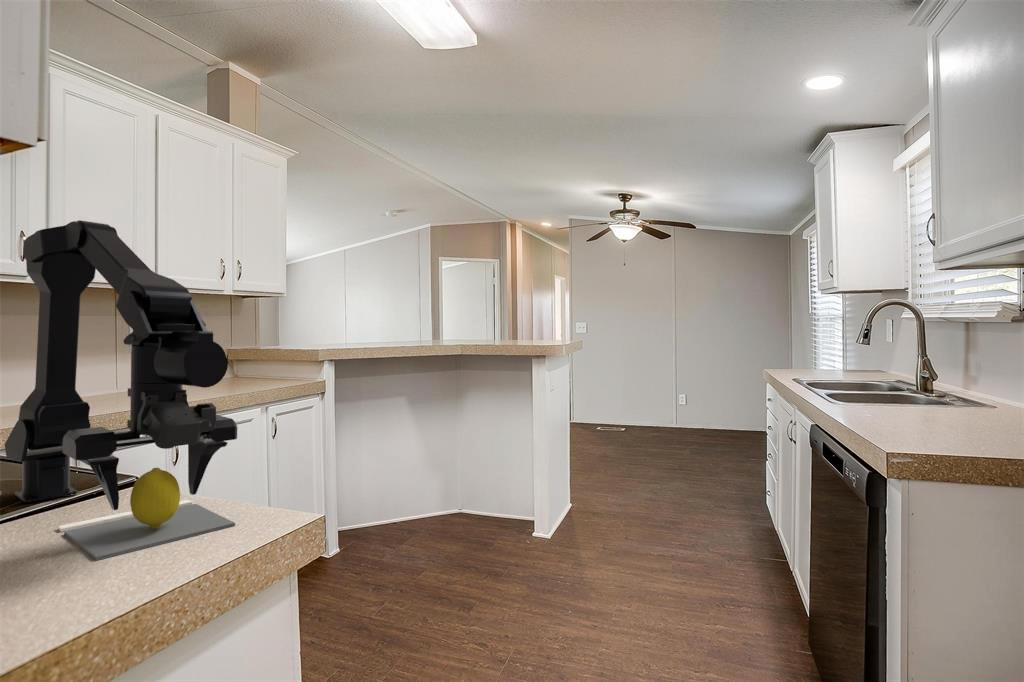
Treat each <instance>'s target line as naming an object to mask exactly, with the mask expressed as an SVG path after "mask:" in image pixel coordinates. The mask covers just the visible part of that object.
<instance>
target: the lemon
mask: <svg viewBox="0 0 1024 682" xmlns="http://www.w3.org/2000/svg"><path fill="white" fill-rule="evenodd" d="M129 498H130V500H129V501H130V509H131V511H132V513H133V516H134V517H135V518H136V519H137V520H138V521H139V522H141V523H143V524H146V525H149V526H150V527H151V528H152V529H157V528H158V527H159V526H160V525H161V524H162V523H164V522H166V521H168V520H169V519H170V518H171V517H172V516H173V515H174V514H175V513H176V511H177V509H178V506H179V502H180V501H181V490H180V485H179V482H178V480H177V479H176V476H174V475H173V474H172V473H171V472H168V471H167V470H163V469H161V468H159V467H153V468H152V469H151V470H149V471H147V472H145V473H144V474H142V475H141V476H140V477H139V478H138V479H136V481H135V483H134V484H133V487H132V489H131V492H130V497H129Z"/></svg>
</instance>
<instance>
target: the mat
mask: <svg viewBox="0 0 1024 682" xmlns="http://www.w3.org/2000/svg"><path fill="white" fill-rule="evenodd" d="M235 526H236V522H234V521H232V520H230V519H228V518H226V517H224V516H223V515H220V514H218V513H216V512H213V511H212V510H210V509H208V508H206V507H203V506H202V505H199V504H198V503H192V505H187V506H182V507H178V509H177V511H176V513H175V514H174V515H173V516H172V517H171V518H170V519H169V520H168V521H166V522H164V523H162V524H161V525H160V526H159V527H158V528H157V529H152V528H151V527H150V526H149V525H146V524H143V523H141V522H139V521H138V520H137V519H136V518H135V517H130V518H125V519H121V520H116V521H111V522H106V523H102V524H97V525H92V526H87V527H82V528H78V529H73V530H68V531H64V532H63V535H64V536H66V537H67V538H68V539H69V540H70V541H71V542H73V543H74V544H75V545H76V546H78V547H79V548H80V549H81V550H83V551H84V552H85V553H86V554H87V555H88V556H90V557H91V558H92V559H94V560H95V561H99V560H104V559H107V558H111V557H116V556H119V555H123V554H127V553H132V552H136V551H140V550H143V549H144V550H145V549H148V548H152V547H156V546H160V545H164V544H168V543H172V542H176V541H179V540H184V539H188V538H191V537H196V536H199V535H204V534H207V533H212V532H216V531H219V530H224V529H227V528H231V527H235Z"/></svg>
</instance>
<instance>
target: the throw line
mask: <svg viewBox="0 0 1024 682" xmlns="http://www.w3.org/2000/svg"><path fill="white" fill-rule="evenodd" d="M192 504H193V501H191V500H189V499H185V500H180V502H179V506H178V507H182V506H187V505H192ZM130 517H134V516H133V513H132V510H131V511H126V512H125V511H124V512H121V513H120V512H119V513H115V514H111V515H106V516H102V517H97V518H91V519H87V520H82V521H77V522H76V521H75V522H71V523H67V524H66V523H65V524H62V525H58V526H57V530H59V532H60V533H64V531H68V530H73V529H78V528H82V527H87V526H92V525H97V524H102V523H106V522H111V521H116V520H121V519H125V518H130Z"/></svg>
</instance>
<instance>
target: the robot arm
mask: <svg viewBox="0 0 1024 682" xmlns="http://www.w3.org/2000/svg"><path fill="white" fill-rule="evenodd" d="M22 249H23V250H22V252H23V253H22V254H23V257H24V259H25V261H26V264H25V265H26V273H27V275H28V276H29V278H30V279H31V281H32V282H33V284H34V286H36V288H37V289H38V290H39V302H38V303H39V306H38V325H37V343H36V345H37V346H36V366H35V386H34V389H33V390H32V392H31V393H30V394H29V395H28V397H27V398H26V399H25V400H24V402H23V403H21V405H20V407H19V414H18V419H17V420H16V423H15V424H14V426H13V428H12V430H11V432H10V433H9V435H8V437H7V439H6V440H5V442H4V450H5V457H6V459H9V460H13V461H16V462H19V463H21V462H22V467H21V468H22V469H21V470H22V474H21V475H22V480H21V481H22V485H21V486H22V487H21V488H22V489H20V490H16V491H14V496H16V497H17V498H18V499H19V500H21V501H22V500H23V501H24V502H29V503H31V502H30V501H35V502H37V501H36V500H41V501H44V500H43V499H47V500H49V499H48V498H52V499H55V498H54V497H58V498H60V497H59V496H64V497H66V496H65V495H70V496H72V495H71V494H75V495H77V494H76V493H78V491H79V490H77V489H76V488H75V487H73V486H71V483H70V482H71V477H70V474H71V473H70V472H71V459H73V460H75V461H80V462H82V463H83V464H86V465H87V466H89V467H90V468H91V470H92V471H93V473H94V474H95V476H96V478H97V480H98V481H99V484H100V486H101V489H102V490H103V492H104V494H105V497H106V499H107V501H108V503H109V505H110V507H111V509H112V511H117V510H118V509H119V505H120V504H119V503H120V496H119V495H120V493H119V483H118V471H117V469H118V465H119V462H120V458H119V457H117V456H115V455H114V452H115V451H116V450H117V448H120V447H130V446H136V445H137V446H138V445H147V444H153V443H154V444H155V446H156V447H157V448H159V449H165V450H167V449H173V448H174V447H179V446H186V445H187V450H188V451H187V455H188V457H187V459H188V462H187V463H188V464H187V467H188V468H187V471H188V472H187V473H188V475H187V477H188V479H187V481H188V482H187V483H188V490H189V494H190V495H193V496H194V495H197V492H198V491H199V487H200V485H201V482H202V480H203V477H204V475H205V473H206V470H207V467H208V465H209V463H210V462H211V460H212V458H213V456H214V455H215V454H216V453H217V452H218V451H219V450H220V449H221V448H225V447H227V445H228V442H227V441H233V440H237V439H238V424H237V423H236V421H235V420H234V419H233V418H230V417H227V416H223V415H220V414H217V407H216V406H215V404H213V403H212V402H209V403H208V402H207V403H198V404H196V405H192V406H191V405H190V406H189V403H188V394H187V389H184V388H183V386H188V387H196V388H197V387H198V388H206V389H207V388H210V387H213V386H215V385H217V384H219V383H220V382H221V381H222V380H223V378H224V377H225V376H226V373H227V371H228V367H229V358H228V357H227V354H226V352H225V350H224V349H223V347H222V346H221V345H220V344H218V343H217V342H216V341H214V332H213V331H212V330H211V331H210V330H209V331H208V330H207V328H206V326H207V325H206V323H205V321H204V320H203V318H202V317H201V315H200V312H199V311H198V308H197V306H196V304H195V301H194V299H193V296H192V294H191V292H190V291H189V290H188V288H187V287H185V286H184V285H182V284H181V283H179V282H177V281H176V280H175V279H172V278H170V277H166V276H164V275H161V274H158V273H156V272H154V271H153V270H151V268H149V266H148V265H147V264H146V263H145V262H143V260H142V259H140V257H139V256H138V255H137V254H136V253H135V252H134V251H133V250H132V249H131V247H130V246H128V245H127V244H126V243H125V241H123V240H122V239H121V238H120V237H119V235H118V232H117V229H116V228H115V227H114V226H111V225H109V224H107V223H101V222H100V223H99V222H94V221H88V220H77V221H74V220H73V221H70V222H68V223H67V224H65V225H58V226H53V227H48V228H43V229H39V230H36V232H34V233H33V234H31V235H29V236H28V237H26V239H25V240H24V241H23V248H22ZM96 271H97V272H98V273H99V274H100V275H101V277H103V279H105V281H107V283H108V284H109V285H110V286H111V287H112V288H113V290H114V291H115V293H116V294H117V299H116V303H115V307H116V309H117V311H118V312H119V314H120V316H121V317H122V318H123V320H124V322H125V323H126V325H128V327H130V328H131V329H132V332H131V333H129V334H128V335H126V337H125V338H124V339H123V340H122V341H123V344H124V345H128V346H129V345H130V387H129V388H127V397H130V417H129V418H130V419H127V422H126V423H127V424H126V425H127V426H126V427H127V429H129V430H126V431H113V430H111V429H108V428H106V427H103V426H96V427H91V423H90V419H89V417H90V409H91V407H90V404H89V402H86V401H84V400H83V399H82V397H81V396H80V393H78V391H77V390H76V389H77V387H76V384H77V383H76V381H77V363H78V349H79V348H78V346H79V345H78V344H79V329H80V314H81V313H80V309H81V295H82V294H83V293H84V291H85V290H86V289H87V288H88V287H89V285H90V284H91V283H92V282H93V281H94V280H95V277H96ZM23 501H22V502H23ZM24 502H23V503H24Z"/></svg>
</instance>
